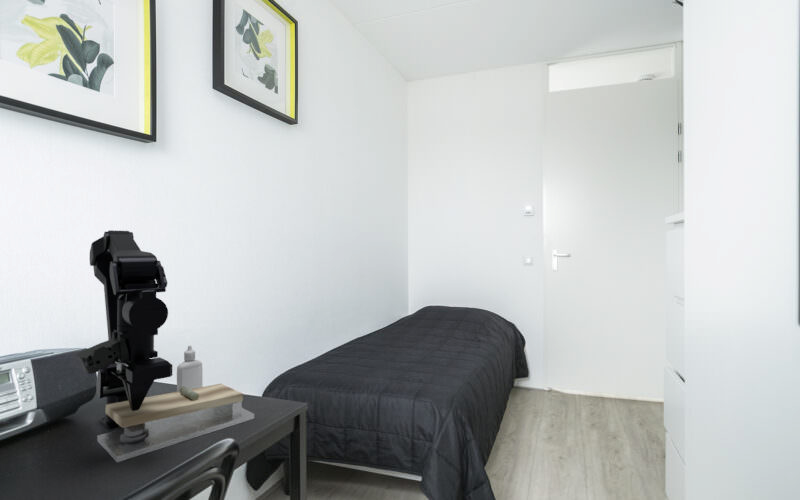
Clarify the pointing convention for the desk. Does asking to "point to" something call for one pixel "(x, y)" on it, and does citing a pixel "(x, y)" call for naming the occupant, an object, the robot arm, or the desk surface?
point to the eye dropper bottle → (189, 371)
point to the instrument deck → (173, 404)
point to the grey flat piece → (171, 430)
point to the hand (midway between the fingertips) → (135, 410)
